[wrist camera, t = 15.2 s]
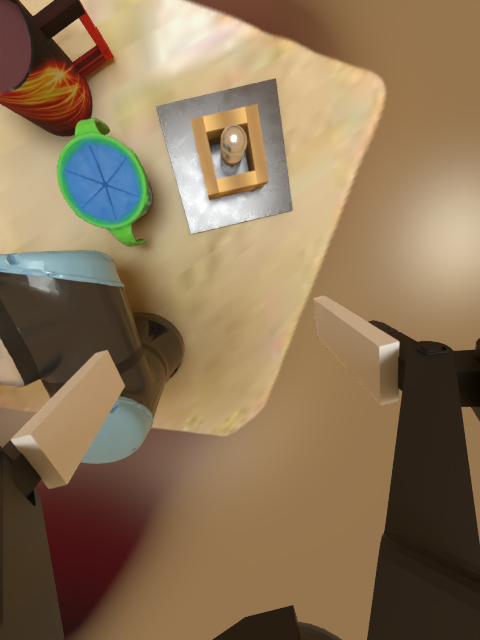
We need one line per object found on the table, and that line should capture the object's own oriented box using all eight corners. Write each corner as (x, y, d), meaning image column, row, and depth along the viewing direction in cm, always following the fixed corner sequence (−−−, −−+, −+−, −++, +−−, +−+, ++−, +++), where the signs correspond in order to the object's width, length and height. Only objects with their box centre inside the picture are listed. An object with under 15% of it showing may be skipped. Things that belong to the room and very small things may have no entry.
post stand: (191, 233, 42) (181, 235, 31) (156, 108, 36) (128, 52, 25) (291, 210, 42) (318, 203, 31) (275, 80, 36) (301, 12, 25)
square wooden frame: (209, 199, 40) (207, 195, 35) (194, 135, 37) (190, 119, 31) (261, 187, 40) (269, 181, 35) (251, 122, 37) (257, 103, 31)
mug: (118, 59, 34) (68, -26, 22) (75, 152, 37) (13, 118, 26) (48, -3, 31) (-48, -135, 20) (8, 102, 34) (-94, 41, 23)
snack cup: (171, 241, 43) (158, 245, 33) (110, 247, 42) (78, 252, 32) (152, 134, 37) (129, 101, 27) (81, 139, 36) (33, 107, 27)
